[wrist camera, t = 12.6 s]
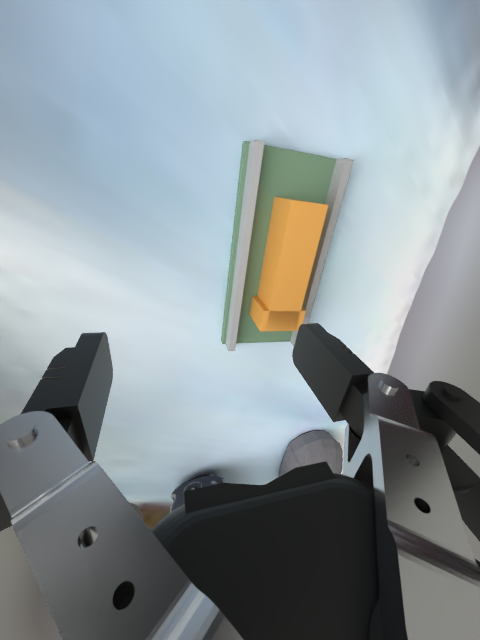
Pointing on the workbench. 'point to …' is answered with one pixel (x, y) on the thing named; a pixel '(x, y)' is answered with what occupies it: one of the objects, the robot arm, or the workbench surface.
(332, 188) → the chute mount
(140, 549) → the robot arm
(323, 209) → the chute
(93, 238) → the workbench surface
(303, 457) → the soft grey pack
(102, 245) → the workbench surface
